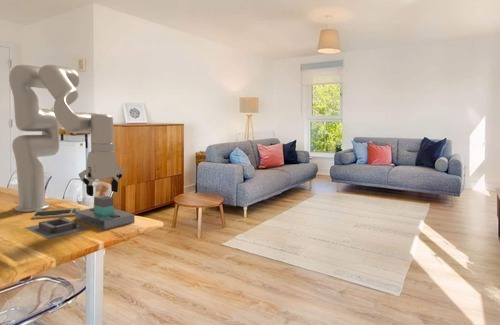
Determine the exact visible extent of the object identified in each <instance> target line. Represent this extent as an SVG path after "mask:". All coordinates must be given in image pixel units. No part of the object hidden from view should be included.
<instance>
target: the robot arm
mask: <svg viewBox="0 0 500 325" xmlns="http://www.w3.org/2000/svg"><path fill="white" fill-rule="evenodd" d="M8 79H9V80H8V81H9V86H10V90H11V92H12V96H13V106H14V121H15V126H16V128H17V129H18V130H19V131H21V132H30V133H31V132H34V133H35V132H41V134H23V135H22V134H21V135H18V136H17V137H15V138H14V139H13V140H12V145H11V146H12V151H13V155H14V158H15V164H16V166H15V167H16V175H17V177H16V179H17V181H16V182H17V194H18V205H16V206H15V207H14V211H16V212H18V213H29V212H30V213H31V212H36V211H40V210H48V209H49V208H50V204H49V202H46V195H45V193H46V192H45V173H44V166H43V163H42V162H41V161H40V160H39V159H38V158H40V157H41V158H42V157H49V156H52V157H53V156H55V155H56V154H58V152H59V151H60V150H59V149H60V131H59V128H60V127H59V124H60V126H61V128H63V129H64V130H65V131H67V132H68V133H71V134H90V151H89V152H88V154H87V159H86V167H85V168H86V169H84V170H82V171H81V172H79V173H78V177H79V179H80V181H81V182H82V183H84V185H85V187H86V188H85V189H86V190H85V192H86V195H87V196H88V197H89V196H90V197H93V196H94V185H93V184H94V182H95V181H98V180H105V179H112V180H111V182H110V183H111V184H110V185H111V186H110V188H111V190H110V191H111V192H113V193H118V190H119V182H120V179H122V177H123V174H124V171H125V169H124V168H122V167H120V166H118V165H117V164H118V163H117V161H118V160H117V156H116V151H114V149H116V147H117V145H116V143H115V144H114V118H113V116H112V115H111V114H106V113H105V114H103V113H95V112H94V113H93V112H78V111H73V110H72V109H71V108H70V107H69V105H72V104H73V103H74V102H76V101H77V99H78V97H79V91H78V89H77V87H78V86H79V85H80V77H79V73H77V71H76V70H75V69H73V68H71V67H67V66H63V65H62V66H61V65H56V64H47V65H46V64H45V65H43V66H36V65H32V64H31V65H30V64H18V65H17V64H16V65H15V66H13V68H11V70H10V72H9V76H8ZM33 88H39V89H46V90H48V92H49V94H51V96H52V98H53V99H54V104H53V110H49V109H44V108H43V109H42V108H41V109H40V106H39V104H40V103H39V98H38V95H37V93H36V92H35V91H34V89H33Z"/></svg>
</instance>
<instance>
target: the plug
mask: <svg viewBox="0 0 500 325" xmlns="http://www.w3.org/2000/svg"><path fill="white" fill-rule="evenodd" d="M93 202H94V206H93V208H95V214H98V215H101V216H107V215H111V214H114V210H113V208H114V197H112V196H108V195H99V196H94V198H93Z"/></svg>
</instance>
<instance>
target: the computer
mask: <svg viewBox="0 0 500 325" xmlns="http://www.w3.org/2000/svg"><path fill="white" fill-rule="evenodd" d="M80 210H81V207H71V208H70V207H69V208H59V209H57V208H55V209H44V210H40V211H34V213H33V216H32V220H44V219H45V220H46V219H57V218H62V217H63V218H67V217H68V218H69V217H71V218H72V217H75V211H80Z"/></svg>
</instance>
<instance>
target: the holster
mask: <svg viewBox="0 0 500 325" xmlns="http://www.w3.org/2000/svg"><path fill="white" fill-rule="evenodd" d="M24 229H26V230H28V231H29V232H32V233H34V234H37V235H38V236H41V237H43V238H45V239H47V240H51V239H55V238H59V237H64V236H68V235H72V234H74V233H75V234H77V233H79V232H83V231H87V230H91V229H92V228H91V227H88V226H85V225H83V224H81V223H77V222H76V221H74V220H71V219H67V218H66V217H59V218H52V219H48V220H44V221H39V222H38V224H36V225H30V226H26V227H24Z"/></svg>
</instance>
